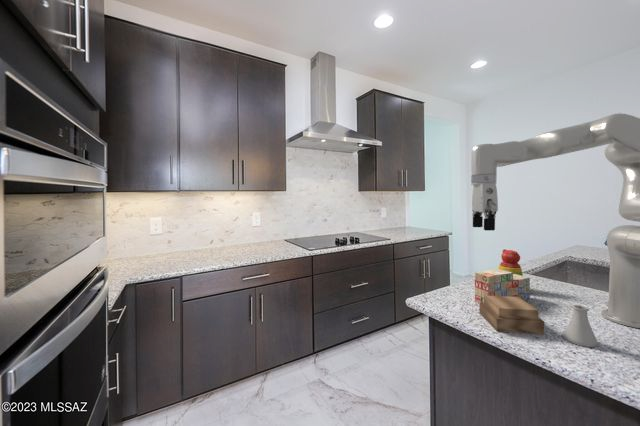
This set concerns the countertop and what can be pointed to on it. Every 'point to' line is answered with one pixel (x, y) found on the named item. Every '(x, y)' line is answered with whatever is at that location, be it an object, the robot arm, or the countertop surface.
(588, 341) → the flask
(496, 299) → the stepped wooden pedestal
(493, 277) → the stack of blocks
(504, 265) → the stacking bear
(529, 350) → the countertop surface
